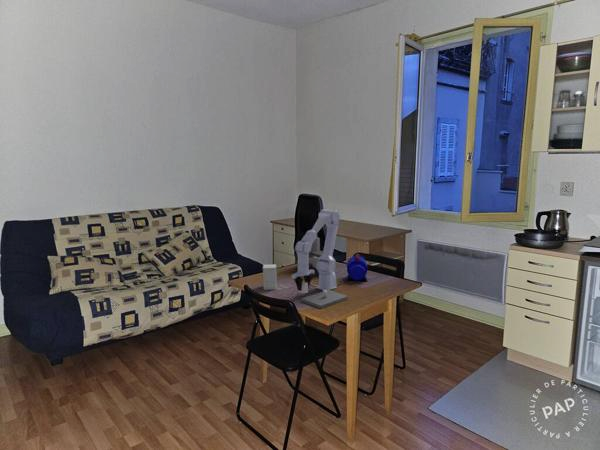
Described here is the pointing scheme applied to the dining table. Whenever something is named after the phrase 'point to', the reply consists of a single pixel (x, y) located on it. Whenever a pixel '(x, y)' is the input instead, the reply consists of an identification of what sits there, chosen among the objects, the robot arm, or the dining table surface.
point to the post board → (324, 298)
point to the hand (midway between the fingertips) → (303, 289)
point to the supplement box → (269, 277)
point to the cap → (304, 287)
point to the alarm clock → (356, 268)
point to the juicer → (314, 256)
